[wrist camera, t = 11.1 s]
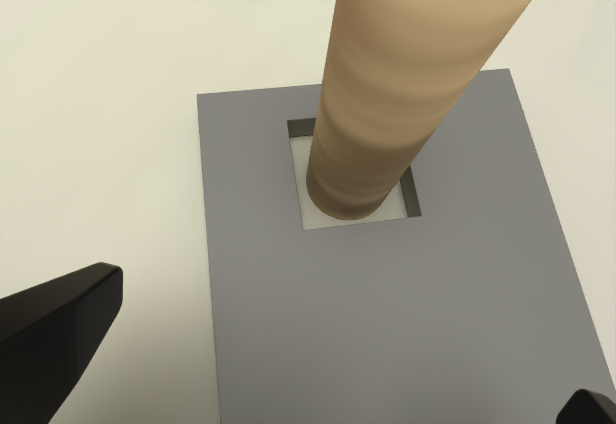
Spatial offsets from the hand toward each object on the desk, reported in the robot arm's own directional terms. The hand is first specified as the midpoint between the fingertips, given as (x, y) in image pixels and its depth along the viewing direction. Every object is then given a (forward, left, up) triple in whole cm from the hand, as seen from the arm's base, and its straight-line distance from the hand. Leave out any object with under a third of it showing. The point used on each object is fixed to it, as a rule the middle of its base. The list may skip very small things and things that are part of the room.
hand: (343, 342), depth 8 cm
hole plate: (+2, -4, -9) cm, 10 cm away
